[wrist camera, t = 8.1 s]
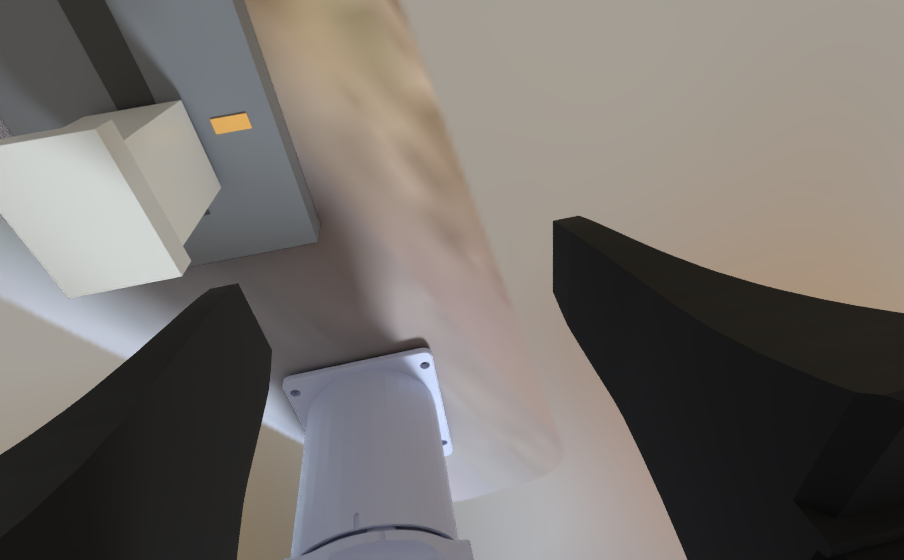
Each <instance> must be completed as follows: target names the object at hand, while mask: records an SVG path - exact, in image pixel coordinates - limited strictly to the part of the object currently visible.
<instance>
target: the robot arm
mask: <svg viewBox="0 0 904 560" xmlns="http://www.w3.org/2000/svg"><path fill="white" fill-rule="evenodd" d="M553 293H554V295H555V298H556V300H557V302H558V305H559V307H560V309H561V312H562V314H563V316H564V318H565V320H566V323H567V325H568V327H569V328H570V330H571V332H572V333H573V335H574V337H575V338H576V340H577V342H578V343H579V345H580V347H581V348H582V350H583V351H584V353H585V355H586V356H587V358H588V360H589V361H590V363H591V364H592V366H593V368H594V369H595V371H596V372H597V374H598V376H599V377H600V379H601V380H602V382H603V384H604V385H605V387H606V388H607V390H608V391H609V393H610V395H611V396H612V398H613V399H614V401H615V403H616V405H617V407H618V408H619V410H620V412H621V414H622V416H623V417H624V419H625V422H626V424H627V426H628V428H629V430H630V432H631V434H632V436H633V438H634V440H635V442H636V444H637V446H638V448H639V450H640V452H641V455H642V457H643V459H644V461H645V463H646V465H647V468H648V470H649V472H650V474H651V476H652V479H653V481H654V483H655V485H656V487H657V490H658V492H659V494H660V496H661V498H662V501H663V503H664V505H665V508H666V510H667V512H668V515H669V517H670V519H671V522H672V524H673V526H674V529H675V530H676V533H677V536H678V538H679V540H680V542H681V545H682V547H683V550H684V552H685V555H686V557H687V560H904V313H898V312H892V311H886V310H880V309H873V308H867V307H860V306H855V305H849V304H845V303H839V302H834V301H828V300H824V299H819V298H814V297H810V296H805V295H801V294H797V293H792V292H788V291H783V290H779V289H775V288H771V287H767V286H763V285H759V284H756V283H752V282H749V281H746V280H742V279H739V278H736V277H732V276H729V275H726V274H722V273H719V272H716V271H713V270H710V269H707V268H704V267H701V266H698V265H696V264H693V263H690V262H688V261H685V260H682V259H680V258H677V257H674V256H672V255H669V254H667V253H665V252H662V251H659V250H657V249H655V248H652V247H650V246H648V245H645V244H643V243H641V242H638V241H636V240H634V239H632V238H629V237H627V236H625V235H623V234H621V233H619V232H616V231H614V230H612V229H610V228H607V227H605V226H603V225H601V224H598V223H596V222H594V221H591V220H589V219H586V218H584V217H581V216H576V217H570V218H565V219H560V220H555V221H553ZM271 355H272V350H271V348H270V346H269V344H268V342H267V340H266V338H265V336H264V334H263V332H262V330H261V328H260V326H259V324H258V322H257V320H256V318H255V316H254V314H253V312H252V310H251V308H250V306H249V304H248V302H247V300H246V298H245V296H244V294H243V292H242V290H241V288H240V286H239V284H233V285H228V286H223V287H218V288H213V289H210V290H208V291H207V292H205V293H204V294H203V295H201V296H200V297H199V298H198V299H196V300H195V301H194V302H193V303H192V304H190V305H189V306H188V307H187V308H186V309H185V310H183V311H182V312H181V313H180V314H179V315H178V316H177V317H176V318H174V319H173V320H172V321H171V322H170V323H169V324H168V325H167V326H166V327H164V328H163V329H162V330H161V331H160V332H159V333H158V334H157V335H155V336H154V337H153V338H152V339H151V340H150V341H149V342H148V343H146V344H145V345H144V346H143V347H142V348H141V349H140V350H139V351H137V352H136V353H135V354H134V355H133V356H132V357H130V358H129V359H128V360H127V361H126V362H124V363H123V364H122V365H121V366H120V367H118V368H117V369H116V370H115V371H114V372H112V373H111V374H110V375H109V376H107V377H106V378H105V379H104V380H103V381H101V382H100V383H99V384H98V385H97V386H96V387H94V388H93V389H92V390H91V391H89V392H88V393H87V394H85V395H84V396H83V397H82V398H80V399H79V400H78V401H76V402H75V403H74V404H72V405H71V406H70V407H68V408H67V409H66V410H65V411H64V412H62V413H60V414H59V415H58V416H56V417H55V418H53V419H52V420H51V421H49V422H48V423H47V424H45V425H44V426H42V427H41V428H40V429H38V430H37V431H35V432H34V433H33V434H31V435H30V436H28V437H27V438H25V439H24V440H22V441H21V442H19V443H18V444H16V445H15V446H13V447H12V448H10V449H9V450H7V451H5V452H4V453H2V454H1V455H0V560H237V551H238V543H239V535H240V526H241V517H242V510H243V503H244V497H245V492H246V487H247V482H248V477H249V473H250V469H251V465H252V460H253V456H254V452H255V448H256V444H257V439H258V435H259V431H260V427H261V422H262V418H263V414H264V409H265V405H266V400H267V396H268V391H269V382H270V372H271ZM423 362H428V363H426V364H422V363H423ZM282 387H283V390H284V392H285V393H286V395H287V397H288V399H289V401H290V403H291V405H292V407H293V409H294V411H295V413H296V415H297V416H298V418H299V420H300V422H301V424H302V426H303V428H304V430H305V432H306V435H305V443H304V452H303V461H302V468H301V476H300V484H299V493H298V500H297V509H296V517H295V525H294V533H293V541H292V549H291V557H290V558H286V559H284V560H474V559H473V554H472V549H471V544H470V541H469V540H458V534H457V528H456V522H455V516H454V510H453V504H452V498H451V492H450V486H449V480H448V474H447V468H446V463H445V456H448V455H450V454H451V453H452V452H453V448H452V443H451V438H450V434H449V429H448V424H447V420H446V415H445V411H444V406H443V402H442V397H441V392H440V388H439V383H438V379H437V374H436V370H435V365H434V360H433V356H432V352H431V350H430V349H428V348H418V349H413V350H409V351H404V352H399V353H395V354H390V355H385V356H380V357H376V358H371V359H366V360H362V361H357V362H352V363H347V364H343V365H338V366H333V367H329V368H324V369H319V370H314V371H310V372H305V373H300V374H296V375H291V376H288V377H286V378H285V379H284V381H283V385H282ZM293 390H298V391H293Z"/></svg>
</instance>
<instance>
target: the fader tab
mask: <svg viewBox="0 0 904 560" xmlns="http://www.w3.org/2000/svg"><path fill="white" fill-rule="evenodd" d="M220 189H221V185H220V183H219V181H218V179H217V177H216V175H215V172H214V170H213V168H212V166H211V164H210V162H209V159H208V157H207V155H206V153H205V151H204V149H203V146H202V144H201V142H200V140H199V138H198V136H197V133H196V131H195V129H194V127H193V125H192V123H191V120H190V118H189V116H188V114H187V112H186V110H185V107H184V105H183V103H182V101H181V100H177V101H172V102H166V103H160V104H154V105H149V106H143V107H137V108H131V109H126V110H120V111H114V112H108V113H103V114H97V115H91V116H85V117H82V118H80V119H79V120H77V121H75V122H73V123H71V124H69V125H67V126H65V127H63V128H59V129H53V130H47V131H42V132H36V133H30V134H25V135H19V136H13V137H7V138H2V139H0V214H1V215H2V216H3V217H4V219H5V220H6V221H7V222H8V224H9V225H10V226H11V227H12V229H13V230H14V231H15V232H16V234H17V235H18V236H19V237H20V239H21V240H22V241H23V242H24V244H25V245H26V246H27V247H28V249H29V250H30V251H31V252H32V254H33V255H34V256H35V257H36V259H37V260H38V261H39V262H40V264H41V265H42V266H43V267H44V269H45V270H46V271H47V272H48V274H49V275H50V276H51V277H52V279H53V280H54V281H55V282H56V284H57V285H58V286H59V287H60V289H61V290H62V291H63V292H64V294H65V295H66V296H67V297H68V299H69V298H75V297H80V296H85V295H90V294H95V293H100V292H105V291H110V290H115V289H120V288H125V287H131V286H136V285H141V284H146V283H151V282H156V281H161V280H166V279H171V278H176V277H181V276H183V274H184V272H185V271H186V269H187V267H188V266H189V264H190V262H191V259H190V258H189V256H188V254H187V252H186V251H185V249H184V247H183V245H184V244H185V242H186V241H187V239H188V238H189V236H190V235H191V233H192V232H193V230H194V228H195V227H196V225H197V224H198V222H199V221H200V219H201V218H202V216H203V215H204V213H205V212H206V210H207V209H208V207H209V206H210V204H211V203H212V201H213V199H214V198H215V196H216V195H217V193H218V192H219V190H220Z"/></svg>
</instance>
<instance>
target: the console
mask: <svg viewBox="0 0 904 560" xmlns="http://www.w3.org/2000/svg"><path fill="white" fill-rule="evenodd" d="M177 100H181V101H182V103H183V105H184V107H185V110H186V112H187V114H188V116H189V118H190V120H191V123H192V125H193V127H194V129H195V131H196V133H197V136H198V138H199V140H200V142H201V144H202V146H203V149H204V151H205V153H206V155H207V157H208V159H209V162H210V164H211V166H212V168H213V170H214V172H215V175H216V177H217V179H218V181H219V183H220V185H221V189H220V190H219V192H218V193H217V195H216V196H215V198H214V199H213V201H212V203H211V204H210V206H209V207H208V209H207V210H206V212H205V213H204V215H203V216H202V218H201V219H200V221H199V222H198V224H197V225H196V227H195V228H194V230H193V232H192V233H191V235H190V236H189V238H188V239H187V241H186V242H185V244H184V245H183V247H184V249H185V251H186V252H187V254H188V256H189V258H190V259H191V262H190V264H189V266H188V267H193V266H198V265H203V264H208V263H213V262H218V261H224V260H229V259H234V258H239V257H244V256H249V255H254V254H259V253H265V252H270V251H275V250H280V249H285V248H290V247H295V246H300V245H305V244H311V243H316V242H318V238H319V232H320V226H321V225H320V222H319V219H318V216H317V213H316V210H315V207H314V204H313V201H312V198H311V195H310V193H309V190H308V187H307V184H306V181H305V178H304V175H303V172H302V169H301V166H300V163H299V160H298V157H297V154H296V152H295V149H294V146H293V143H292V140H291V137H290V134H289V131H288V128H287V125H286V122H285V119H284V116H283V113H282V111H281V108H280V105H279V102H278V99H277V96H276V93H275V90H274V87H273V84H272V81H271V78H270V75H269V72H268V70H267V67H266V64H265V61H264V58H263V55H262V52H261V49H260V46H259V43H258V40H257V37H256V34H255V31H254V29H253V26H252V23H251V20H250V17H249V14H248V11H247V8H246V5H245V2H244V0H0V119H1V120H2V122H3V123H4V124H5V126H6V127H7V129H8V130H9V132H10V133H11V134H12V136H19V135H25V134H30V133H36V132H42V131H47V130H53V129H59V128H63V127H65V126H67V125H69V124H71V123H73V122H75V121H77V120H79V119H80V118H82V117H85V116H91V115H97V114H103V113H108V112H114V111H120V110H126V109H131V108H137V107H143V106H149V105H154V104H160V103H166V102H172V101H177ZM188 267H187V268H188Z"/></svg>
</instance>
